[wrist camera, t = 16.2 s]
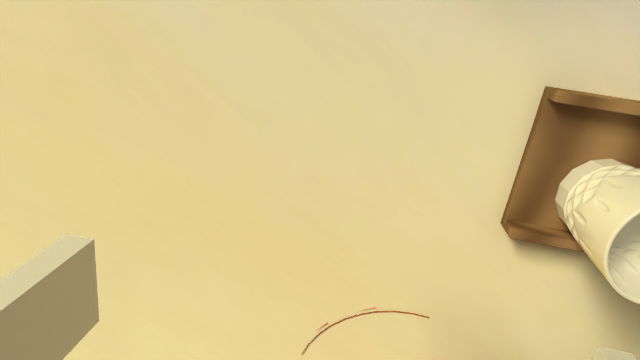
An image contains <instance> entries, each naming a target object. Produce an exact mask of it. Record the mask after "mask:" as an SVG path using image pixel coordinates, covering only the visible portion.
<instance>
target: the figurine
mask: <svg viewBox="0 0 640 360" xmlns="http://www.w3.org/2000/svg"><path fill="white" fill-rule="evenodd" d="M374 308H376V307H374ZM370 309H373V308H370ZM365 310H367V309H365ZM376 312H399V311H376ZM369 313H375V312H369ZM400 313H408V312H400ZM363 314H368V313H363ZM409 314H414V313H409ZM358 315H362V314H358ZM358 315H355V316H358ZM414 315H418V314H414ZM418 316H422V315H418ZM352 317H354V316H352ZM422 317H426V316H422ZM348 318H351V317H348ZM348 318H345V319H348ZM427 318H429V317H427ZM345 319H343V320H345ZM341 321H342V320H341ZM339 322H340V321H339ZM327 323H328V322H327ZM327 323H326V324H327ZM336 323H338V322H336ZM336 323H334V324H336ZM334 324H332V325H334ZM324 325H325V324H324ZM324 325H323V326H324ZM332 325H330V326H332ZM330 326H329V327H330ZM329 327H327V328H329ZM320 328H321V327H320ZM327 328H326V329H327ZM326 329H325V330H326ZM316 331H317V330H316ZM323 331H324V330H323ZM323 331H322V332H323ZM320 333H321V332H320ZM320 333H319V334H320ZM307 346H308V345H307ZM305 349H306V348H305ZM305 349H304V350H305ZM302 353H303V352H302Z"/></svg>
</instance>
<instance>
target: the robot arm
mask: <svg viewBox="0 0 640 360" xmlns="http://www.w3.org/2000/svg"><path fill="white" fill-rule="evenodd" d="M98 321H99V313H98V296H97V279H96V262H95V246H94V239H91V238H87V237H82V236H77V235H72V234H68V233H67V234H66V235H64V236H63V237H61V238H60V239H58V240H57V241H56V242H54V243H53V244H51V245H50V246H48V247H47V248H45V249H44V250H42V251H41V252H39V253H38V254H37V255H35V256H34V257H32V258H31V259H29V260H28V261H26V262H25V263H23V264H22V265H20V266H19V267H18V268H16V269H15V270H13V271H12V272H10V273H9V274H7V275H6V276H4V277H3V278H1V279H0V360H63V359H64V357H65V356H66V355H67V354H68V353H69V352H70V351H71V350H72V349H73V348H74V347H75V346H76V345H77V344H78V343H79V341H80V340H81V339H82V338H83V337H84V336H85V335H86V334H87V333H88V332H89V331H90V330H91V329H92V328H93V327H94V325H95V324H96V323H97V322H98ZM592 360H636V358H635V357H634V356H633V354H632V353H629V352H625V351H620V350H615V349H611V348H606V347H601V346H599V347H598V349H597V351H596V353H595V355H594V357H593V359H592Z"/></svg>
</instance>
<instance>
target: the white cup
mask: <svg viewBox="0 0 640 360" xmlns="http://www.w3.org/2000/svg"><path fill="white" fill-rule="evenodd" d="M555 203H556V207H557V212H558V215H559V217H560V218H561V219H562V220H563V222H564V223H565V224H566V225H567V227H568V228H569V230H570V232H571V233H572V235H573V237H574V238H575V239H576V241H577V242H578V243H579V245H580V246H581V248H582V249H583V250H584V252H585V253H586V254H587V255H588V257H589V258H590V259H591V260H592V262H593V263H594V264H595V265H596V267H597V268H598V269H599V270H600V272H601V273H602V274H603V276H604V277H605V278H606V279H607V281H608V282H609V283H610V285H611V286H612V287H613V288H614V289H615V290H616V291H617V292H618V293H619V294H620V295H621V296H623V297H624V298H626V299H628V300H630V301H632V302H634V303H637V304H640V168H635V167H633V166H631V165H629V164H626V163H623V162H620V161H617V160H614V159H599V160H590V161H588V162H586V163H584V164H582V165H580V166H578V167H576V168H574V169H572V170H571V171H570V173H569V174H568V175H567V176H566V177H565V178H564V179H563V180H562V181H561V183H560V184H559V188H558V191H557V194H556V197H555Z"/></svg>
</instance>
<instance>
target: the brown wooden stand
mask: <svg viewBox="0 0 640 360" xmlns="http://www.w3.org/2000/svg"><path fill="white" fill-rule="evenodd" d="M599 159H614V160H617V161H620V162H623V163H626V164H629V165H631V166H633V167H635V168H640V101H636V100H629V99H623V98H617V97H610V96H604V95H598V94H591V93H585V92H579V91H572V90H566V89H560V88H553V87H547V86H546V87H545V90H544V93H543V96H542V99H541V102H540V105H539V108H538V111H537V114H536V117H535V120H534V123H533V126H532V129H531V132H530V135H529V138H528V141H527V144H526V147H525V150H524V153H523V156H522V159H521V162H520V166H519V169H518V172H517V175H516V178H515V181H514V184H513V187H512V190H511V193H510V196H509V199H508V202H507V205H506V208H505V211H504V214H503V217H502V220H501V224H502V226H503V228H504V229H505V231H506V232H507V234H508V236H509V237H510V238H512V239H517V240H523V241H528V242H534V243H539V244H544V245H550V246H555V247H561V248H566V249H571V250H577V251H582V252H584V250H583V249H582V248H581V246H580V245H579V243H578V242H577V241H576V239H575V238H574V237H573V235H572V233H571V232H570V230H569V228H568V227H567V225H566V224H565V223H564V222H563V220H562V219H561V218H560V217H559V215H558V212H557V207H556V203H555V197H556V194H557V191H558V188H559V184H560V183H561V181H562V180H563V179H564V178H565V177H566V176H567V175H568V174H569V173H570V171H571V170H572V169H574V168H576V167H578V166H580V165H582V164H584V163H586V162H588V161H590V160H599Z"/></svg>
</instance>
